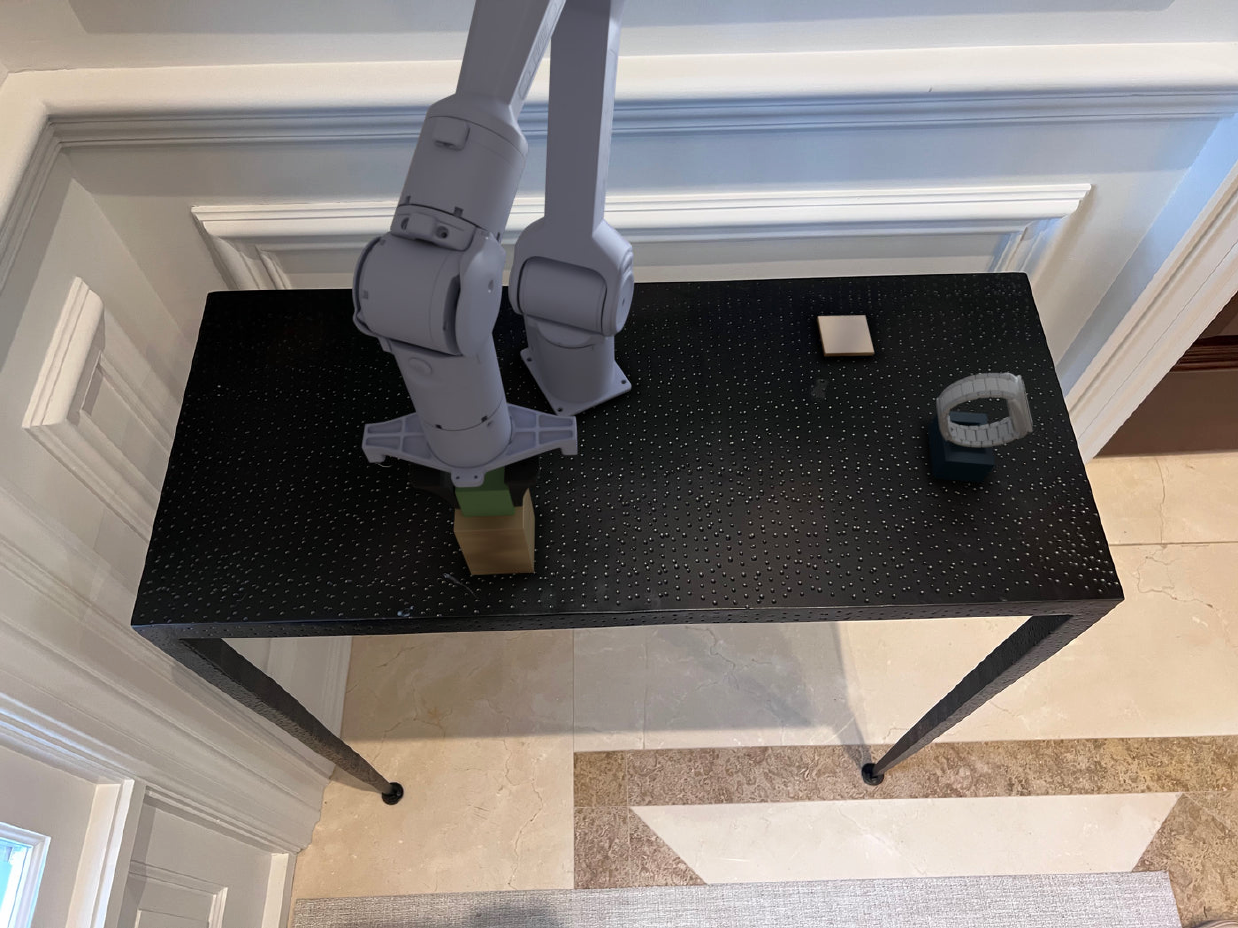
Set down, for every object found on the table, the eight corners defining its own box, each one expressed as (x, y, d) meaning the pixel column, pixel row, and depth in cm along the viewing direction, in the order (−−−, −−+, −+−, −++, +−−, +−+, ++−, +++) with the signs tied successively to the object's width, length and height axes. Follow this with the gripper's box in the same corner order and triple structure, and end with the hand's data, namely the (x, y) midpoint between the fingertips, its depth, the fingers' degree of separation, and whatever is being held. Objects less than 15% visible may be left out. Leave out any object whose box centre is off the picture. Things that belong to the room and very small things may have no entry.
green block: (463, 517, 61) (454, 492, 58) (466, 473, 63) (457, 446, 60) (515, 515, 61) (509, 490, 58) (516, 471, 63) (510, 444, 60)
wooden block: (471, 575, 68) (453, 531, 61) (474, 519, 71) (457, 471, 64) (534, 572, 68) (523, 528, 61) (534, 517, 71) (524, 468, 64)
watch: (1003, 484, 73) (1060, 416, 63) (914, 476, 73) (957, 407, 64) (994, 433, 75) (1047, 361, 66) (908, 426, 76) (949, 353, 66)
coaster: (824, 356, 80) (825, 353, 80) (816, 319, 83) (817, 316, 82) (873, 355, 80) (874, 352, 80) (863, 318, 83) (865, 315, 83)
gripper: (334, 451, 48) (390, 546, 60) (573, 442, 48) (582, 539, 60) (350, 359, 52) (400, 466, 63) (571, 352, 52) (581, 460, 64)
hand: (489, 496), depth 62 cm, fingers closed on green block, 4 cm apart
